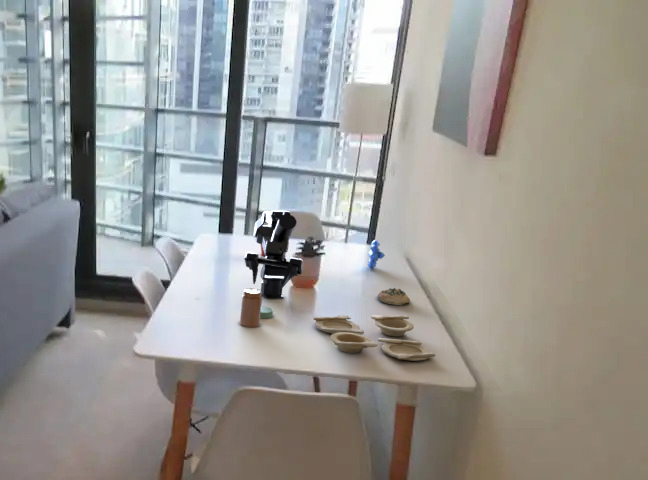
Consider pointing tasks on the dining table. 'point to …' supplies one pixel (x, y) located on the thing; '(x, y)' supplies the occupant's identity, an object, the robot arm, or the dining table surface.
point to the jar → (251, 308)
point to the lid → (266, 312)
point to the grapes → (374, 254)
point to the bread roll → (393, 296)
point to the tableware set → (388, 325)
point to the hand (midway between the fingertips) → (267, 285)
